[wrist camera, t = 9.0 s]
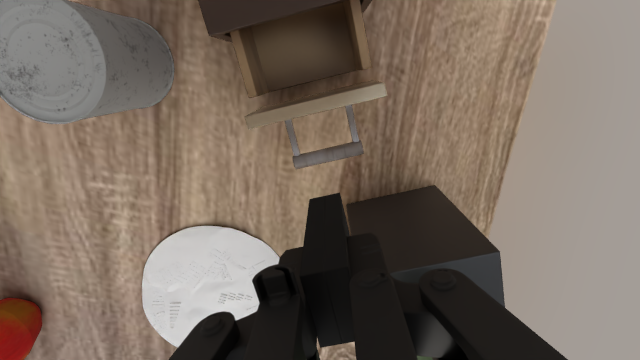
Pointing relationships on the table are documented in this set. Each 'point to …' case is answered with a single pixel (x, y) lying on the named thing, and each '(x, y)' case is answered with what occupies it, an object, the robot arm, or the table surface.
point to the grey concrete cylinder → (78, 61)
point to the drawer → (307, 70)
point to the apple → (18, 327)
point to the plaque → (202, 278)
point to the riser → (428, 238)
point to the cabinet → (255, 13)
